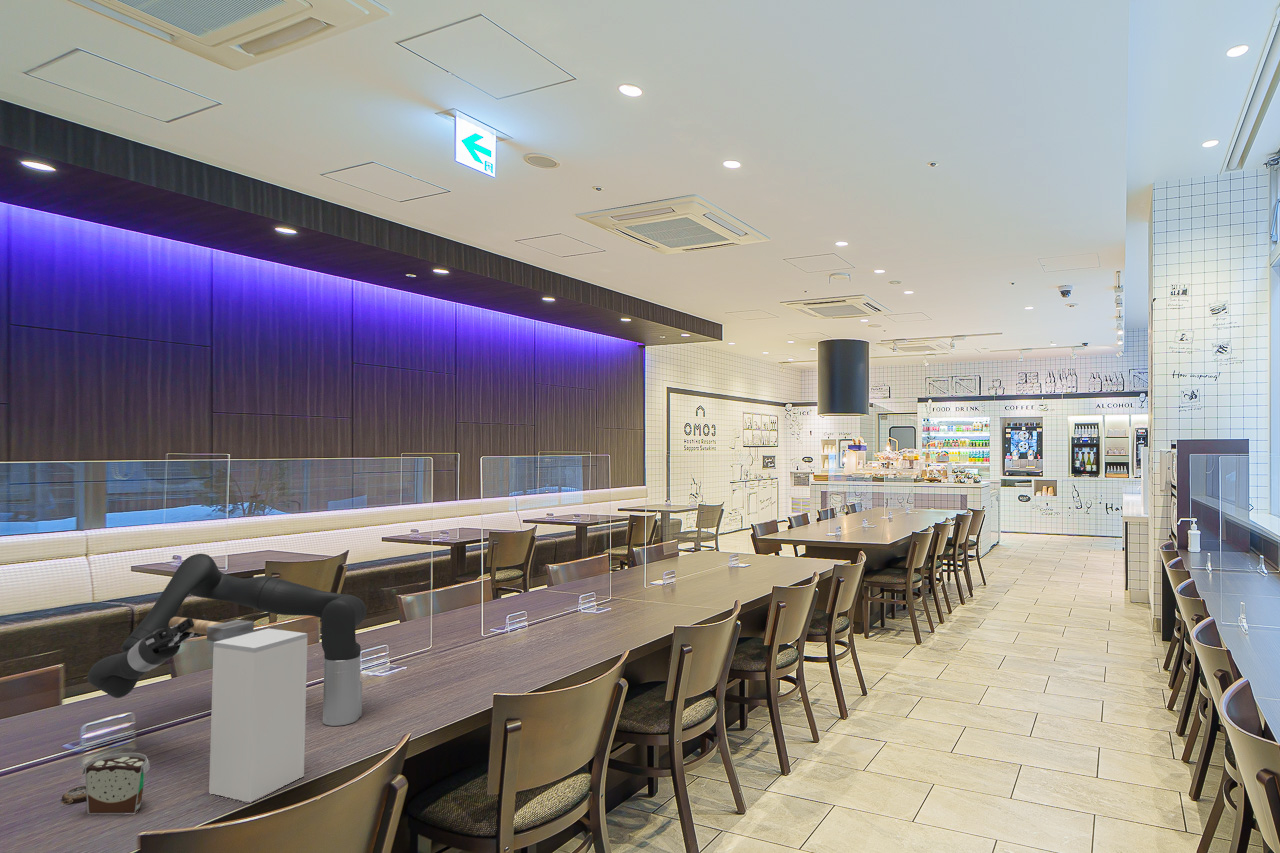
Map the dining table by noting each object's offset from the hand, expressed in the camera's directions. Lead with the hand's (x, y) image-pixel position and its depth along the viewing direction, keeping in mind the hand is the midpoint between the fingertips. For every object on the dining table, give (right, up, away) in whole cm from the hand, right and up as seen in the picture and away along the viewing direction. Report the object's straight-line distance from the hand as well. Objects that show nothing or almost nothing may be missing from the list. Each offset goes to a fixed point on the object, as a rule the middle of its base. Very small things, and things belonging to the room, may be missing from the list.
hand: (198, 620), depth 174 cm
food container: (-3, -33, -22) cm, 40 cm away
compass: (-14, -33, -18) cm, 40 cm away
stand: (+20, -33, -12) cm, 40 cm away
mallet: (+2, -3, -1) cm, 4 cm away
